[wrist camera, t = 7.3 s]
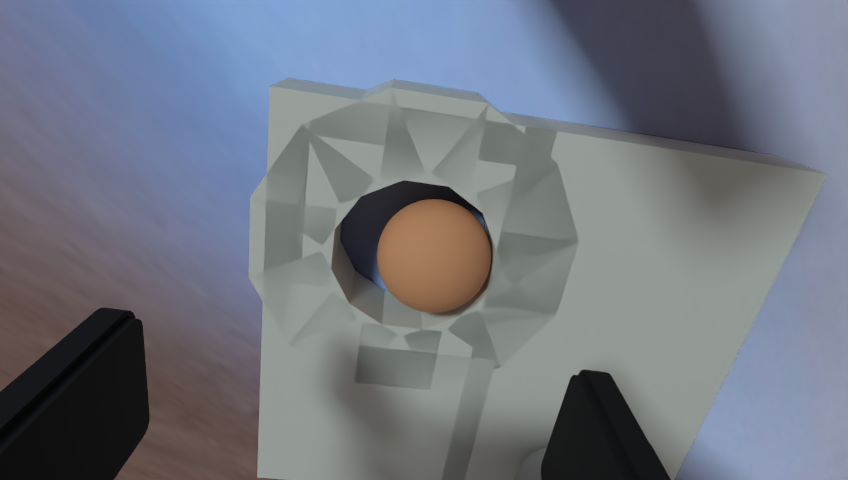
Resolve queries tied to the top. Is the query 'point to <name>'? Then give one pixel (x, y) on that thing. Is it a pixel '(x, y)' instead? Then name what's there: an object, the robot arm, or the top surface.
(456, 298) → the ball
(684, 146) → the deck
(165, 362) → the top surface
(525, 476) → the grey ball
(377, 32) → the top surface
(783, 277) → the top surface
